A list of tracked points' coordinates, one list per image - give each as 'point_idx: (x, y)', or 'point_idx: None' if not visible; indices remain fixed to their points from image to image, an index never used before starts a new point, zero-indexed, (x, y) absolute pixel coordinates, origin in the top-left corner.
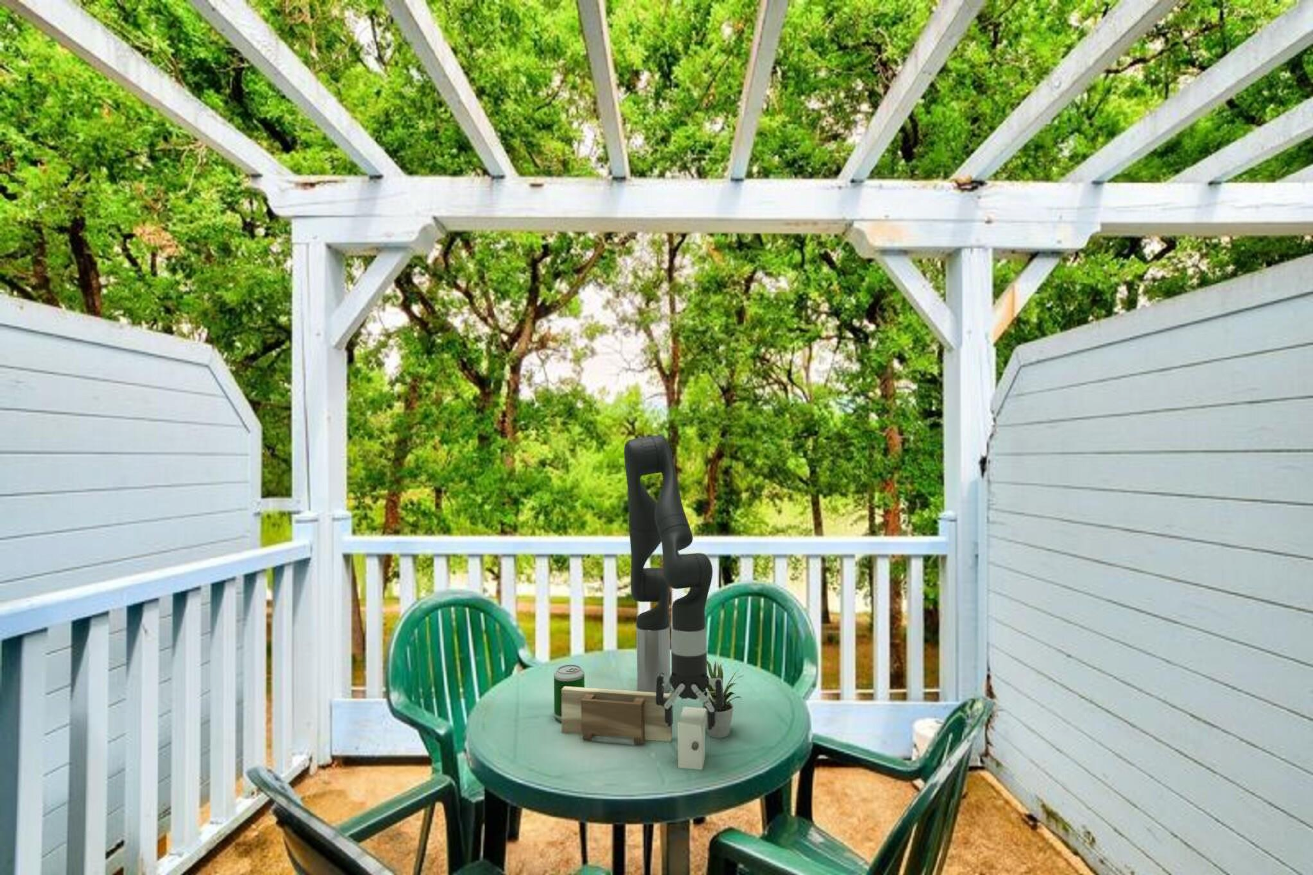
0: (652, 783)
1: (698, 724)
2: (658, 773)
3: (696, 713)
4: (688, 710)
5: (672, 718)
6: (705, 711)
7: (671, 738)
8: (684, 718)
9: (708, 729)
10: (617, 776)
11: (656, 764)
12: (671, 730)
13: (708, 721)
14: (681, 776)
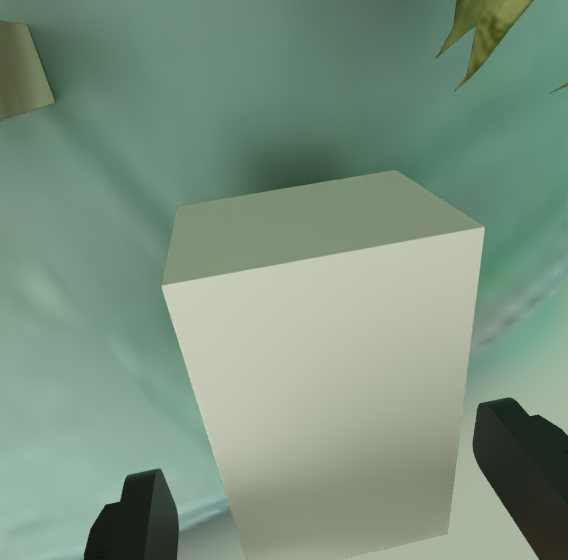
0: (179, 471)
1: (422, 528)
2: (168, 416)
3: (376, 385)
4: (263, 353)
5: (155, 511)
6: (474, 303)
7: (37, 60)
8: (279, 501)
9: (475, 451)
10: (14, 489)
11: (121, 365)
12: (9, 54)
13: (516, 515)
14: None
